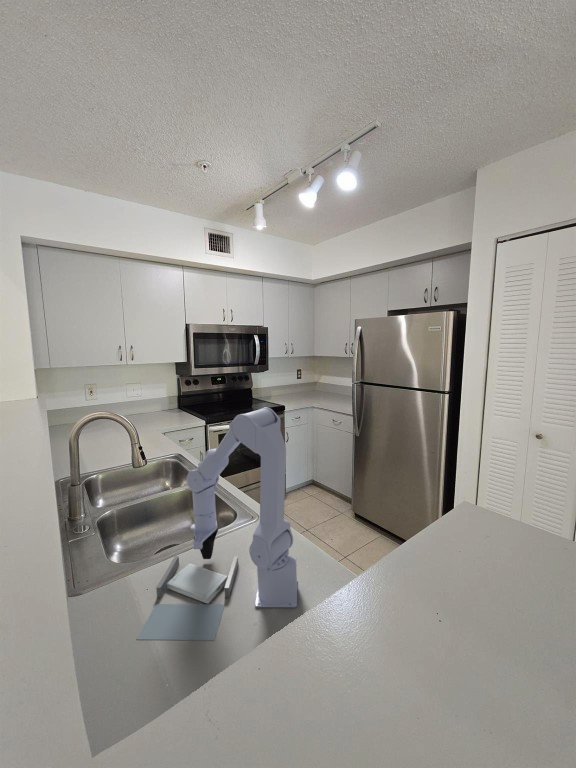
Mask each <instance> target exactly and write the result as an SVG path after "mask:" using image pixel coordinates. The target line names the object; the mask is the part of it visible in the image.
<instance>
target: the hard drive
mask: <svg viewBox="0 0 576 768" xmlns="http://www.w3.org/2000/svg"><path fill="white" fill-rule="evenodd" d="M227 578H228V575H226V574H222V573H219V572H217V571H213V570H211V569H208V568H205V567H202V566H199V565H196V564H193V563H188V564H187V565H186V566H184V567H183V568H182V569H181V570H180V571H179V572H178V573H176V574H175V575H173V577H172V579H171V580H170V581H169V582H168V583H167V588H166V589H168V590H171V591H173V592H175V593H178V594H181V595H184V596H187V597H189V598H192V599H195V600H197V601H198V602H199V601H200V602H202V603H204V604H210V602H211V601H212V600H213V599H214V598H215V597H216V596H217V595H218V594H219V592H221V590H222V589H223V588H225V584H226V581H227Z"/></svg>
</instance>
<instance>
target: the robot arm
mask: <svg viewBox="0 0 576 768" xmlns="http://www.w3.org/2000/svg"><path fill="white" fill-rule="evenodd" d="M281 420H282V419H281V418H280V416H278V415H277V413H276V412H275V411H274V410H273V409H272V408H270V407H262V408H259V409H257V410H253V411H250V412H246V413H240V414H237V415H236V416H235V417H234V418H233V420H232V421H231V422H229V425H228V426H229V429H228V430H227V431H226V434H225V435H224V437H223V438H222V440H221V441H220V442H219V444H218V446H217V447H216V448H211V449H208V450H207V451H205V453H204V454H205V456H204V457H203V459H202V460H201V461H199V462H198V464H197V468H195V469H191V470H189V471H188V473H187V475H186V485H187V487H188V488H189V490H190V491H191V492H192V507H193V522H194V523H193V524H191V526H190V531H193V534H194V536H193V550H200V554H201V557H202V559H203V560H210V559H211V558H212V556H213V552H214V547H215V540H216V537H217V534H218V532H219V529H218V522H217V509H216V495H215V494H216V493H215V492H216V490H217V485H218V483H219V480H220V475H221V474H222V472H223V471H224V470H225V468H226V467H227V466H228V465H229V462H230V461H229V460H230V458H229V457H230V455H231V454H232V453H233V452H234V451H235V450H236V448H237V447H238V446H239V445H240V444H242V445H243V446H246V448H248V449H250V451H252V452H253V453H254V454H258V455H259V457H260V483H259V484H260V486H259V487H260V489H259V490H260V491H259V492H260V493H259V498H260V499H259V523H258V524H257V526H256V528H255V530H254V532H253V535H252V540H251V541H252V542H251V544H250V545H249V548H248V549H249V550H248V551H249V556H250V560H251V561H252V562H253V564H254V565H255V566H256V567H257V568H256V569H257V572H256V573H257V588H256V589H257V590H256V594H255V602H254V607H255V608H297V607H298V606H297V605H298V604H297V603H298V591H299V581H298V574H297V571H298V570H297V569H298V568H297V566H298V565H297V557H294V556H290V553H289V552H290V548H291V547H292V546H293V544H294V536H293V533H292V530H291V522H290V521H289V520H287V519H286V518H285V496H286V495H285V493H286V492H285V491H286V466H287V465H286V463H287V462H286V460H287V458H286V456H287V446H286V444H285V443H286V442H285V439H284V437H283V434H282V431H281ZM211 560H212V559H211Z"/></svg>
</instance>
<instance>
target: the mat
mask: <svg viewBox="0 0 576 768" xmlns="http://www.w3.org/2000/svg"><path fill="white" fill-rule="evenodd" d="M224 609H225V604H222V603H220V604H219V603H216V604H215V603H211V604H210V603H208V604H207V603H204V604H203V603H188V604H187V603H156V604H154V606H153V608H152V610H151V612H150V614H149V616H147V619H146V621H145V623H144V625H143V627H142V628H141V630H140V631H139V633H138V636H137V637H136V641H137V640H138V641H215V639H216V637H217V632H218V629H219V627H220V623H221V618H222V615H223V612H224Z"/></svg>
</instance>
